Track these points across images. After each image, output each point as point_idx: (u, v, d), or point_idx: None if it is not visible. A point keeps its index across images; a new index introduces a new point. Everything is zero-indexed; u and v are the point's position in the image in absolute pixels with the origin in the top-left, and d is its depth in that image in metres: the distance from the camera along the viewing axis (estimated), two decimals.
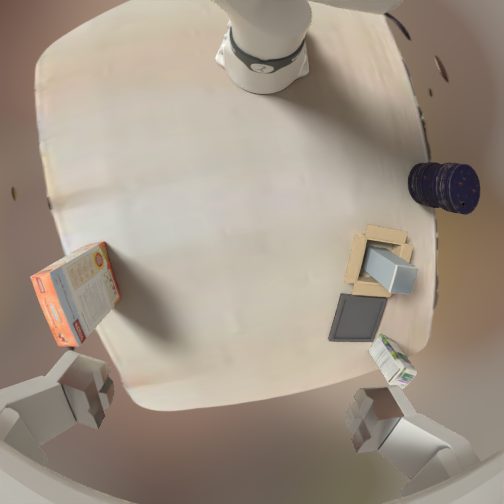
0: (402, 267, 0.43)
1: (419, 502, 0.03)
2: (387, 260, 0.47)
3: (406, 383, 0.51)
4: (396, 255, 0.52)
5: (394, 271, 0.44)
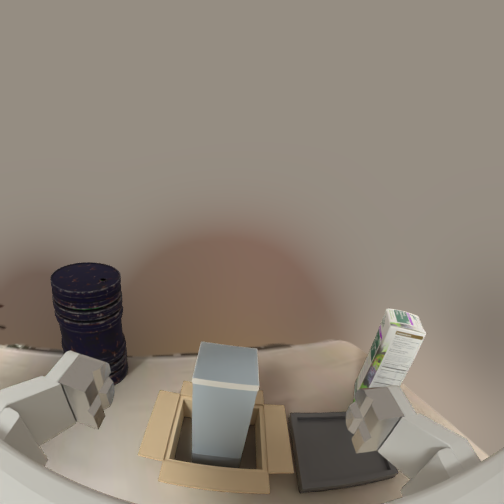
0: (197, 369, 0.20)
1: (418, 502, 0.03)
2: (194, 409, 0.20)
3: (409, 314, 0.34)
4: None
5: (208, 385, 0.19)
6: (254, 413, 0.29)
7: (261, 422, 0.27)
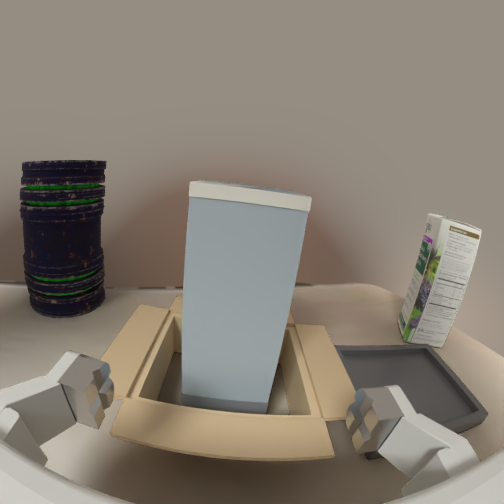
0: (199, 181, 0.12)
1: (419, 502, 0.03)
2: (189, 271, 0.12)
3: None
4: None
5: (218, 197, 0.11)
6: None
7: (295, 346, 0.19)
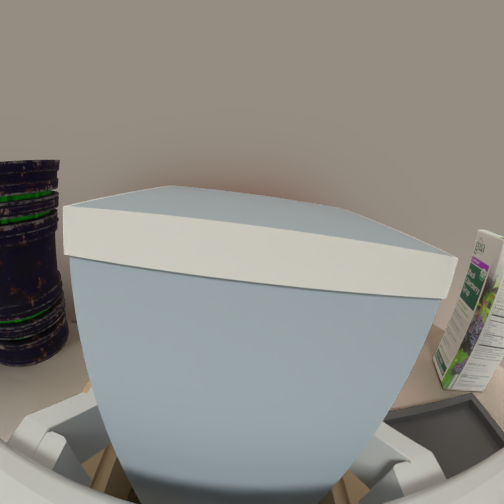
0: (118, 198, 0.04)
1: (419, 502, 0.03)
2: (115, 428, 0.04)
3: None
4: None
5: (154, 262, 0.03)
6: None
7: None
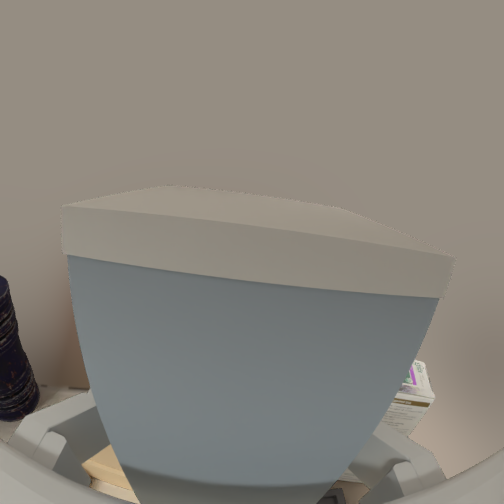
0: (116, 197, 0.04)
1: (419, 502, 0.03)
2: (113, 427, 0.04)
3: None
4: None
5: (150, 261, 0.03)
6: None
7: None
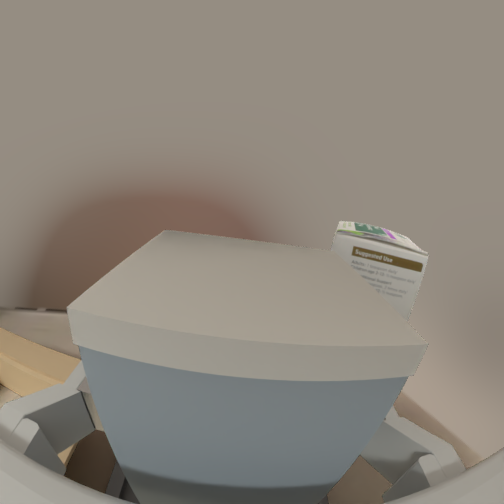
0: (114, 279, 0.04)
1: (419, 502, 0.03)
2: (126, 461, 0.04)
3: (388, 231, 0.17)
4: None
5: (152, 359, 0.03)
6: None
7: None
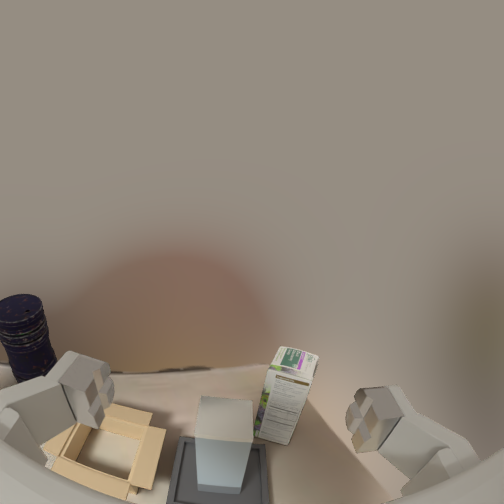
0: (198, 424, 0.21)
1: (419, 502, 0.03)
2: (198, 454, 0.21)
3: (305, 354, 0.34)
4: None
5: (208, 438, 0.20)
6: (142, 432, 0.29)
7: (141, 441, 0.27)
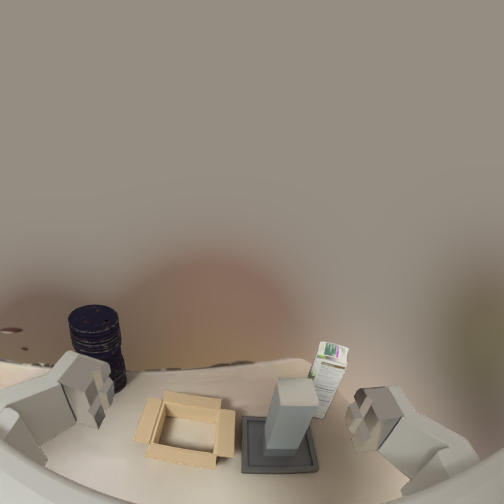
0: (282, 396, 0.32)
1: (419, 502, 0.03)
2: (277, 420, 0.32)
3: (339, 347, 0.45)
4: None
5: (290, 405, 0.31)
6: (214, 415, 0.41)
7: (217, 421, 0.38)
